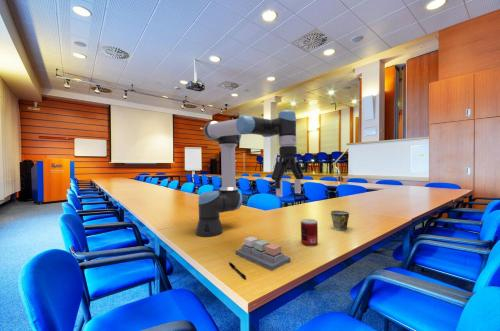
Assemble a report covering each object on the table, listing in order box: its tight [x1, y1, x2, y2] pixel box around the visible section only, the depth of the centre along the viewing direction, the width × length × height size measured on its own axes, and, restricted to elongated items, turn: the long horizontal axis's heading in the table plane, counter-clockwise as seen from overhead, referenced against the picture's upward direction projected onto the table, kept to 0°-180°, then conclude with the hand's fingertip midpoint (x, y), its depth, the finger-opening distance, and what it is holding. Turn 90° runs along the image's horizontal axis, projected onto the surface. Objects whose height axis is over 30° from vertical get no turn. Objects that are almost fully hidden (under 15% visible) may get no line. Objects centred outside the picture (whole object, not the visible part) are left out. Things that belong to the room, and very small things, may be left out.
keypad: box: [235, 243, 291, 271], centre depth 90 cm, size 21×11×4 cm, turn 43°
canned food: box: [300, 218, 319, 247], centre depth 105 cm, size 8×8×11 cm
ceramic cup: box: [330, 210, 350, 232], centre depth 126 cm, size 13×10×10 cm
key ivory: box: [243, 235, 260, 247], centre depth 94 cm, size 4×4×2 cm
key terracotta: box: [265, 242, 282, 256], centre depth 85 cm, size 4×4×2 cm
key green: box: [254, 239, 270, 251], centre depth 90 cm, size 4×4×2 cm
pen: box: [228, 261, 247, 281], centre depth 79 cm, size 14×2×1 cm, turn 28°
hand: (289, 194), depth 95 cm, fingers open, 13 cm apart
